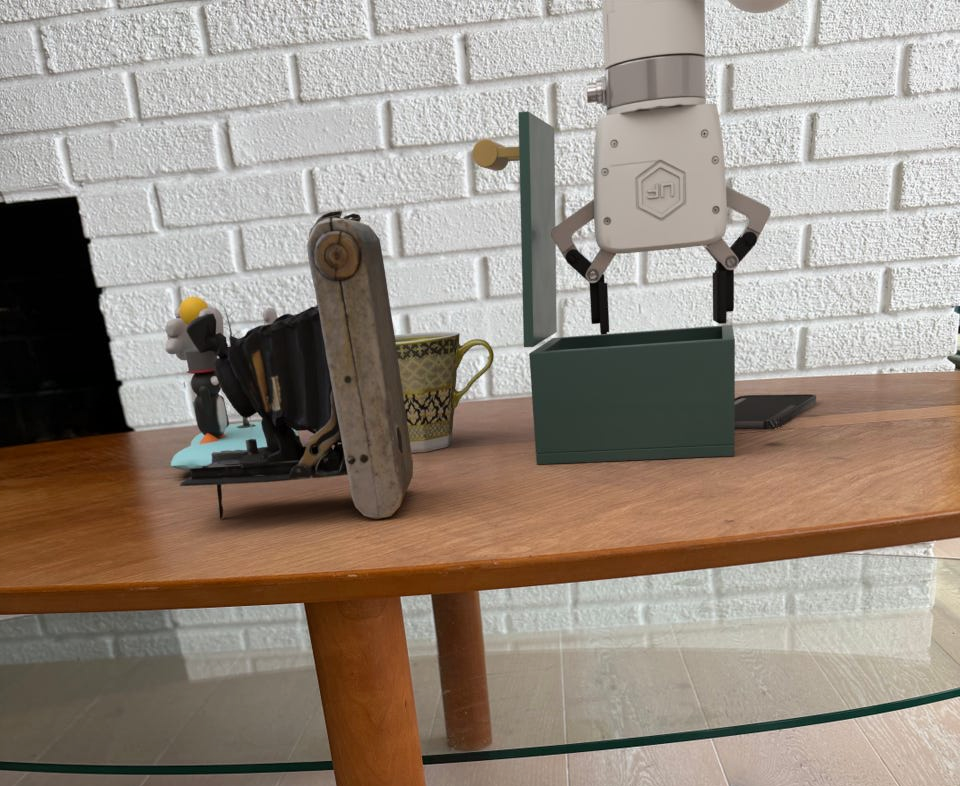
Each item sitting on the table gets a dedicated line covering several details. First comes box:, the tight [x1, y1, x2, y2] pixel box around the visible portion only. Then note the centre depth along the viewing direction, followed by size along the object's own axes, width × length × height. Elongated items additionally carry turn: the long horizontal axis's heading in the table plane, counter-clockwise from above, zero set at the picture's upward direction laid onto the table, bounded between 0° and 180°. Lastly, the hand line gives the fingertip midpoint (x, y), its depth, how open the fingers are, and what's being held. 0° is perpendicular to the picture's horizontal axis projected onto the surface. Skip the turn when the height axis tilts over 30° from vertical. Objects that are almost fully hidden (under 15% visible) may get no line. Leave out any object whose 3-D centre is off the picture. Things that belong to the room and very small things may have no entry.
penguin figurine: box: [164, 296, 298, 472], centre depth 95 cm, size 20×11×15 cm, turn 1°
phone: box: [735, 393, 817, 430], centre depth 96 cm, size 8×1×15 cm
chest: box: [528, 324, 736, 466], centre depth 85 cm, size 16×13×9 cm
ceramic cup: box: [395, 331, 495, 454], centre depth 94 cm, size 13×10×10 cm
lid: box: [472, 110, 558, 348], centre depth 83 cm, size 17×13×5 cm
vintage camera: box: [179, 210, 414, 520], centre depth 71 cm, size 10×16×20 cm, turn 88°
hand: (661, 327), depth 83 cm, fingers open, 9 cm apart
